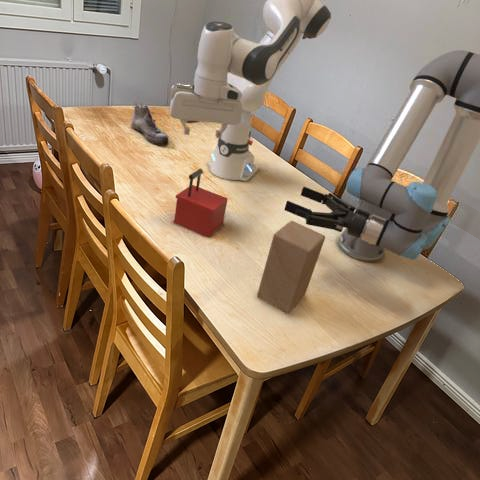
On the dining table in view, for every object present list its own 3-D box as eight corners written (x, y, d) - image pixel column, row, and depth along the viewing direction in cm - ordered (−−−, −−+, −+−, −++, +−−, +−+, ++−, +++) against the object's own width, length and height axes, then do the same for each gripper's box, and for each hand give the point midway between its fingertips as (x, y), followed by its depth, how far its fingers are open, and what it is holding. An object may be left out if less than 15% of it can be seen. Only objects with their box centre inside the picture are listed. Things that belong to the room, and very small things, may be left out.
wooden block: (289, 314, 113) (310, 251, 102) (255, 296, 116) (273, 233, 106) (304, 296, 120) (326, 235, 110) (273, 279, 124) (291, 219, 113)
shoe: (172, 146, 190) (175, 119, 184) (147, 147, 185) (150, 118, 178) (151, 125, 207) (154, 99, 201) (129, 125, 202) (130, 98, 195)
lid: (175, 197, 135) (178, 173, 130) (191, 186, 143) (194, 163, 138) (213, 212, 131) (217, 188, 127) (227, 200, 140) (232, 177, 135)
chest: (173, 223, 139) (176, 198, 135) (189, 211, 147) (192, 187, 143) (208, 237, 136) (213, 212, 131) (222, 224, 144) (227, 200, 140)
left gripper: (172, 85, 115) (167, 136, 122) (247, 95, 121) (238, 143, 128) (170, 79, 120) (165, 128, 127) (242, 88, 126) (233, 135, 133)
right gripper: (350, 256, 111) (274, 224, 117) (369, 222, 131) (304, 196, 138) (360, 231, 107) (281, 199, 113) (379, 199, 128) (311, 174, 134)
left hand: (202, 135), depth 127 cm, fingers open, 8 cm apart
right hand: (294, 197), depth 126 cm, fingers open, 13 cm apart
